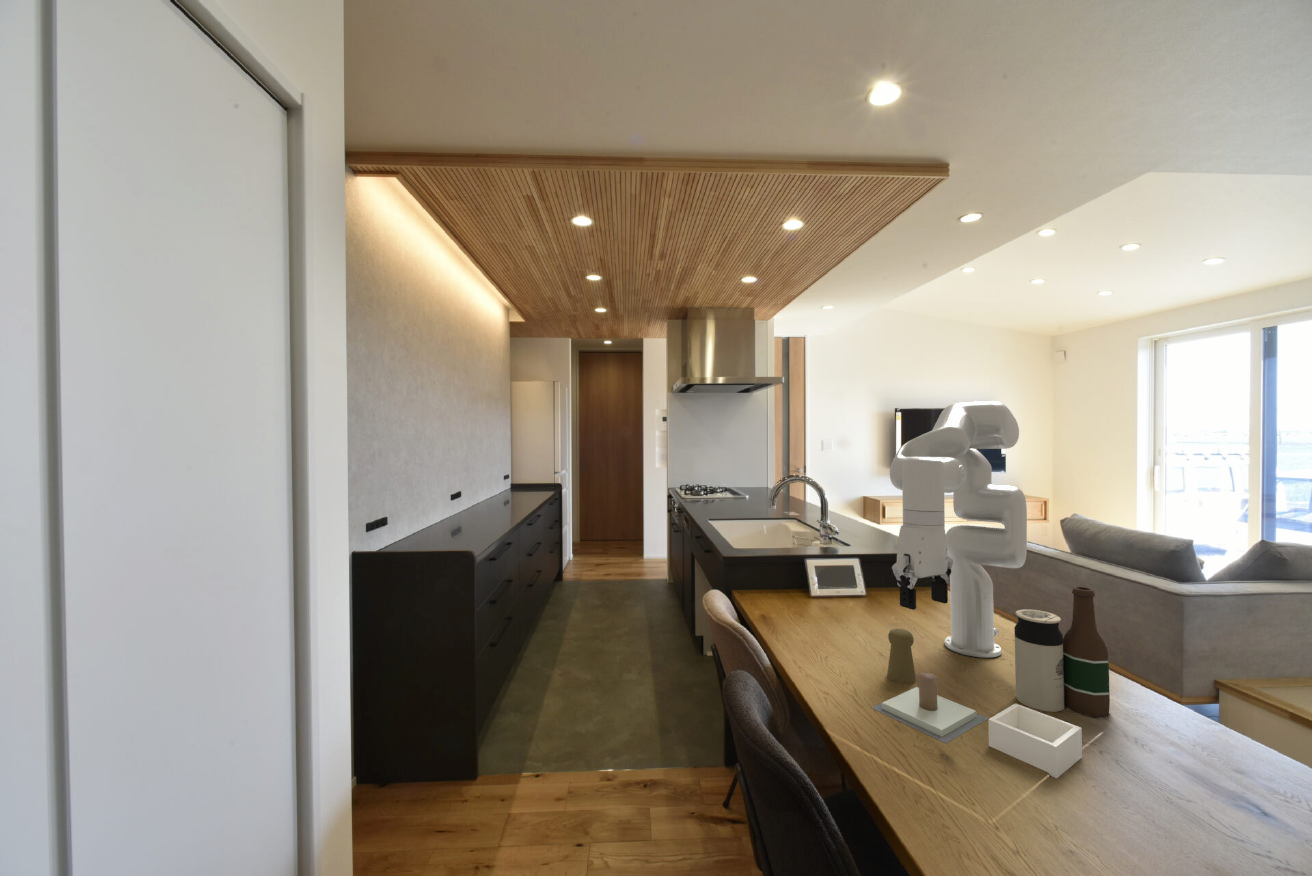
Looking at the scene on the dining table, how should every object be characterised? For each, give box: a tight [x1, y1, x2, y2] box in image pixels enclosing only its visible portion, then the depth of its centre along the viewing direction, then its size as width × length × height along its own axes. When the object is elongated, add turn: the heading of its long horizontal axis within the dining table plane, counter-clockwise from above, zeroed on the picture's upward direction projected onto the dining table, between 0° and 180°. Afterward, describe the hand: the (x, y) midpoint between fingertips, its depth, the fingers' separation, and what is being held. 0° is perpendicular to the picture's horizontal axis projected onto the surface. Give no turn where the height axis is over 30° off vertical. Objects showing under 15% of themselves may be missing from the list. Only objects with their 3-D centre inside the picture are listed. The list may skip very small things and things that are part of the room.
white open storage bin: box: [987, 703, 1083, 779], centre depth 90 cm, size 10×10×5 cm
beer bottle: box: [1063, 586, 1111, 719], centre depth 104 cm, size 8×8×24 cm
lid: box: [881, 672, 977, 737], centre depth 102 cm, size 12×12×7 cm
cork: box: [886, 628, 917, 685], centre depth 118 cm, size 6×6×11 cm
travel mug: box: [1013, 609, 1065, 713], centre depth 106 cm, size 8×8×18 cm
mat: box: [870, 690, 990, 744], centre depth 102 cm, size 15×15×1 cm
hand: (924, 604), depth 104 cm, fingers open, 9 cm apart
